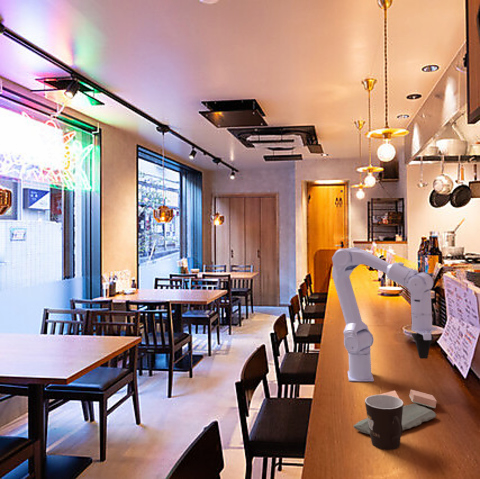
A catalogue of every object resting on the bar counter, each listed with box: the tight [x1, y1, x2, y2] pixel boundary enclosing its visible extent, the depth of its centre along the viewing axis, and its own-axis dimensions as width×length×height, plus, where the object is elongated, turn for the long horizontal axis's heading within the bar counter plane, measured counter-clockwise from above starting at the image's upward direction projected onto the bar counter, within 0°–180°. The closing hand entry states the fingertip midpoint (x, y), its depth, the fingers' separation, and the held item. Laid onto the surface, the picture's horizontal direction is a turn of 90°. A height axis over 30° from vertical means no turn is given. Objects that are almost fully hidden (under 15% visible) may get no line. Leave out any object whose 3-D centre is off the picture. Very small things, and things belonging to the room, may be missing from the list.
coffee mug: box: [364, 394, 404, 451], centre depth 103 cm, size 12×9×10 cm
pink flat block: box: [408, 389, 437, 409], centre depth 125 cm, size 2×6×6 cm
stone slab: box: [353, 403, 437, 435], centre depth 114 cm, size 22×3×10 cm
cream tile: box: [378, 390, 400, 399], centre depth 125 cm, size 2×6×6 cm
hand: (423, 357), depth 134 cm, fingers closed
